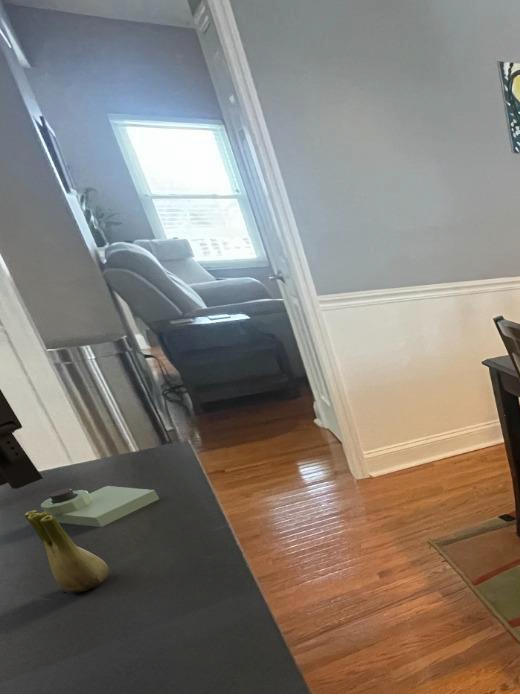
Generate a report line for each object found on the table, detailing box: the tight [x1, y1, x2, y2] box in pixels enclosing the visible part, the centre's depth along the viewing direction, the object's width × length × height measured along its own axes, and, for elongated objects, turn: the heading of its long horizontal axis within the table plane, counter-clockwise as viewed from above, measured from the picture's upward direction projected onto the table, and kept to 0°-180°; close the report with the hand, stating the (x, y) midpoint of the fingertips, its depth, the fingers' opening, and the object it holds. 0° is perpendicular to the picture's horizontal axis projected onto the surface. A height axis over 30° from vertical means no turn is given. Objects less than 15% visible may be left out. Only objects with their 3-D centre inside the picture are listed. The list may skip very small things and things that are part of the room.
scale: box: [40, 485, 160, 528], centre depth 101 cm, size 12×10×4 cm
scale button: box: [48, 488, 76, 504], centre depth 99 cm, size 3×3×2 cm
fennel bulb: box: [24, 509, 110, 594], centre depth 81 cm, size 6×5×12 cm
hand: (17, 482), depth 76 cm, fingers open, 3 cm apart
